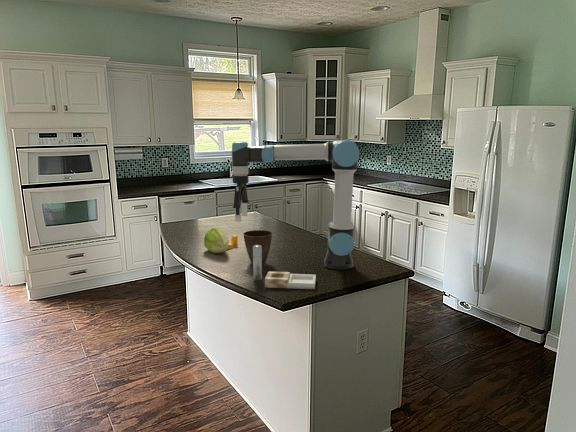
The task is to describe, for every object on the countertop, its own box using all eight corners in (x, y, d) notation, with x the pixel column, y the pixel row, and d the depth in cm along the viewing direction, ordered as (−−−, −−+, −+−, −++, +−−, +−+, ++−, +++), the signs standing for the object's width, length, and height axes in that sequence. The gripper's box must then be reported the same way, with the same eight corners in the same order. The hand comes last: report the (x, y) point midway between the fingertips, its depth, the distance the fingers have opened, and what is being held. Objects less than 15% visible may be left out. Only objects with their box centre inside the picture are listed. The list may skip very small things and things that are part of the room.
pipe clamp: (224, 251, 246) (224, 240, 245) (219, 249, 249) (219, 239, 247) (239, 246, 255) (239, 236, 254) (234, 245, 258) (234, 235, 256)
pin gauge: (262, 277, 201) (262, 245, 198) (261, 280, 197) (260, 247, 194) (254, 277, 201) (253, 244, 198) (252, 280, 197) (252, 247, 194)
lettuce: (214, 261, 228) (212, 236, 225) (202, 250, 247) (199, 227, 243) (237, 256, 234) (235, 232, 231) (223, 246, 253) (221, 224, 249)
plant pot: (238, 264, 222) (237, 234, 218) (255, 257, 234) (254, 228, 231) (261, 269, 214) (261, 238, 211) (277, 261, 226) (277, 232, 223)
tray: (315, 279, 199) (315, 274, 198) (314, 289, 187) (314, 283, 186) (290, 278, 200) (290, 273, 199) (287, 288, 188) (287, 282, 188)
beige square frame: (289, 280, 198) (289, 272, 197) (287, 288, 188) (287, 279, 187) (268, 279, 199) (268, 271, 198) (265, 287, 189) (264, 278, 188)
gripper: (238, 172, 215) (239, 213, 219) (225, 177, 190) (227, 224, 195) (253, 172, 214) (254, 213, 218) (242, 177, 190) (243, 224, 194)
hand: (241, 218), depth 206 cm, fingers open, 13 cm apart
